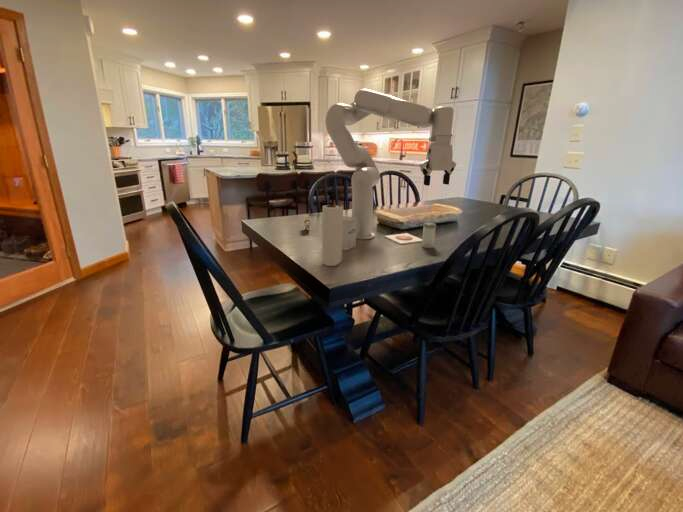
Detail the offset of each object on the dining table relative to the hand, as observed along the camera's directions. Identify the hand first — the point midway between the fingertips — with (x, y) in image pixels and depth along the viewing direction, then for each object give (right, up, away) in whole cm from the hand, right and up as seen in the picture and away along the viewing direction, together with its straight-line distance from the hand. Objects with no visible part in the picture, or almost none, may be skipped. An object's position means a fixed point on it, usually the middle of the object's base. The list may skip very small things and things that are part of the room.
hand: (436, 184), depth 136 cm
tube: (-2, -25, +7) cm, 26 cm away
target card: (-10, -22, +17) cm, 29 cm away
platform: (-56, -17, +28) cm, 65 cm away
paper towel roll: (-43, -32, -15) cm, 56 cm away
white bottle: (-38, -26, +4) cm, 46 cm away
